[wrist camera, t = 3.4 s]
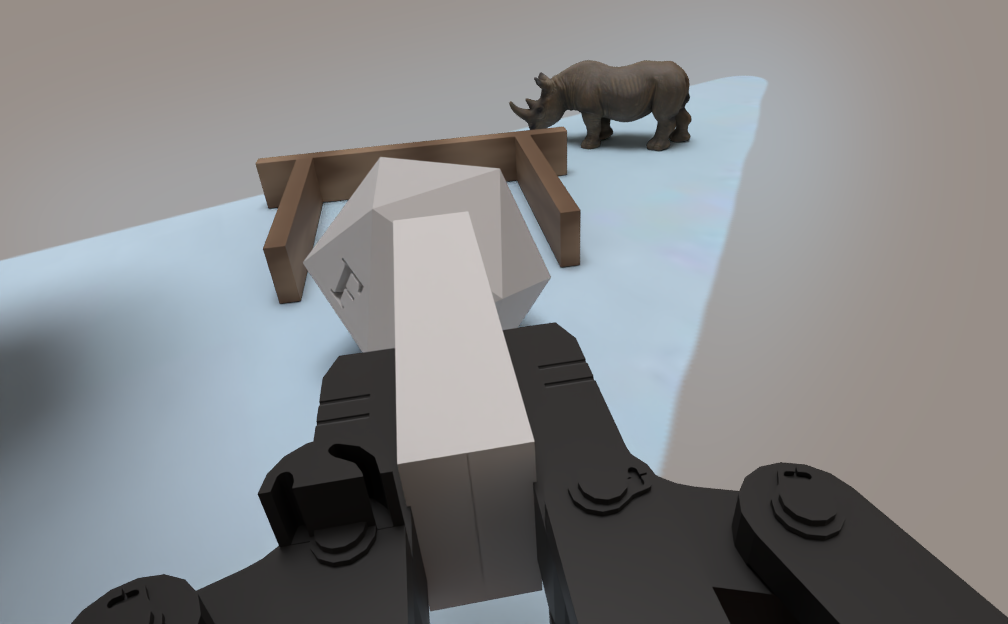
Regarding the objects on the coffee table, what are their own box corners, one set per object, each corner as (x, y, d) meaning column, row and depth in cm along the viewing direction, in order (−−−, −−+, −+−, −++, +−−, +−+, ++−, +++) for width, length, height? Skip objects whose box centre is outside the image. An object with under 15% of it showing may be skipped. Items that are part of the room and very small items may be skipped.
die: (358, 312, 30) (220, 216, 21) (492, 199, 30) (410, 58, 21) (447, 442, 26) (327, 391, 17) (601, 313, 26) (555, 198, 18)
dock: (226, 310, 29) (206, 255, 28) (270, 202, 40) (258, 158, 39) (626, 258, 31) (630, 204, 30) (563, 169, 43) (563, 126, 41)
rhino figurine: (517, 133, 50) (513, 56, 47) (689, 135, 47) (698, 53, 44) (506, 149, 47) (502, 68, 44) (691, 153, 44) (701, 65, 41)
